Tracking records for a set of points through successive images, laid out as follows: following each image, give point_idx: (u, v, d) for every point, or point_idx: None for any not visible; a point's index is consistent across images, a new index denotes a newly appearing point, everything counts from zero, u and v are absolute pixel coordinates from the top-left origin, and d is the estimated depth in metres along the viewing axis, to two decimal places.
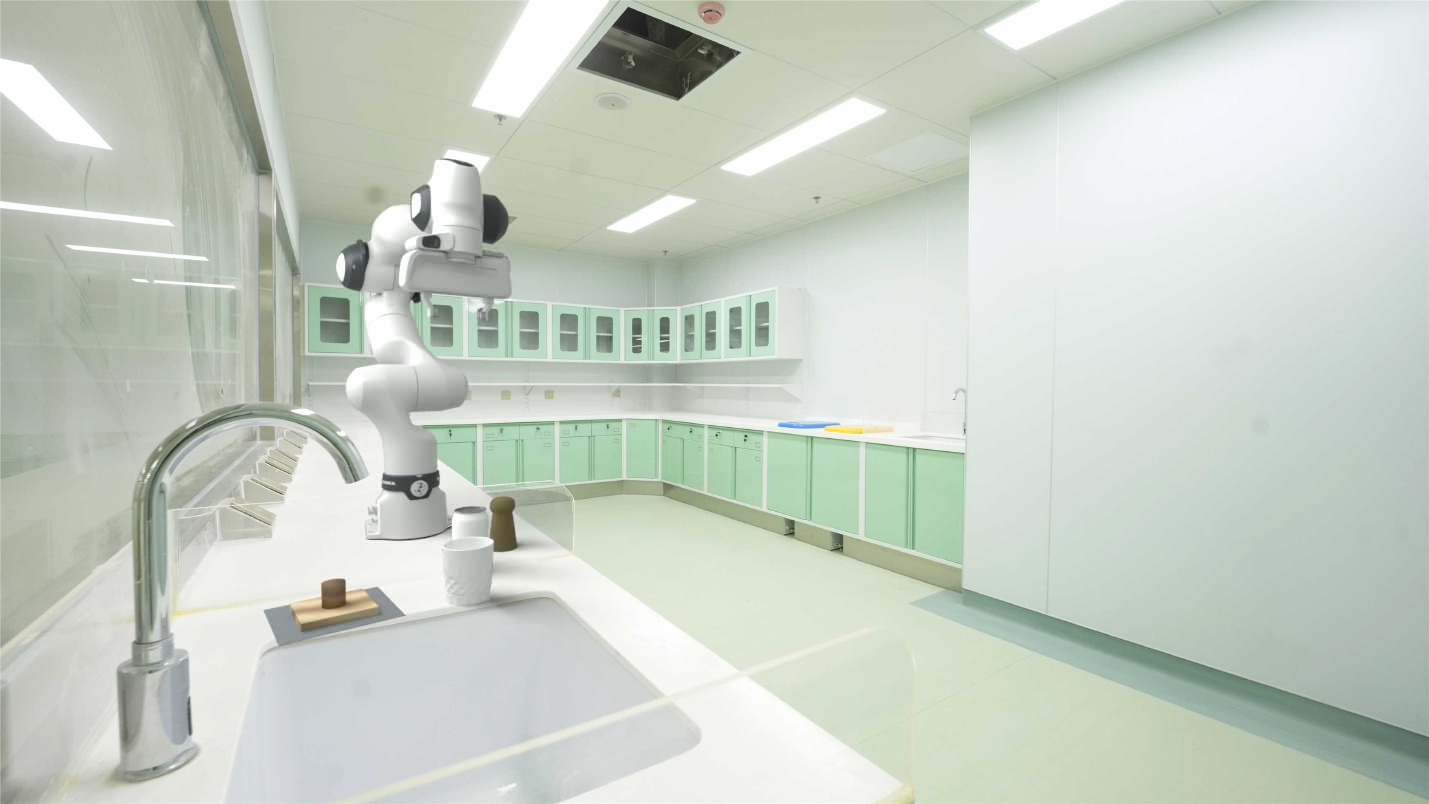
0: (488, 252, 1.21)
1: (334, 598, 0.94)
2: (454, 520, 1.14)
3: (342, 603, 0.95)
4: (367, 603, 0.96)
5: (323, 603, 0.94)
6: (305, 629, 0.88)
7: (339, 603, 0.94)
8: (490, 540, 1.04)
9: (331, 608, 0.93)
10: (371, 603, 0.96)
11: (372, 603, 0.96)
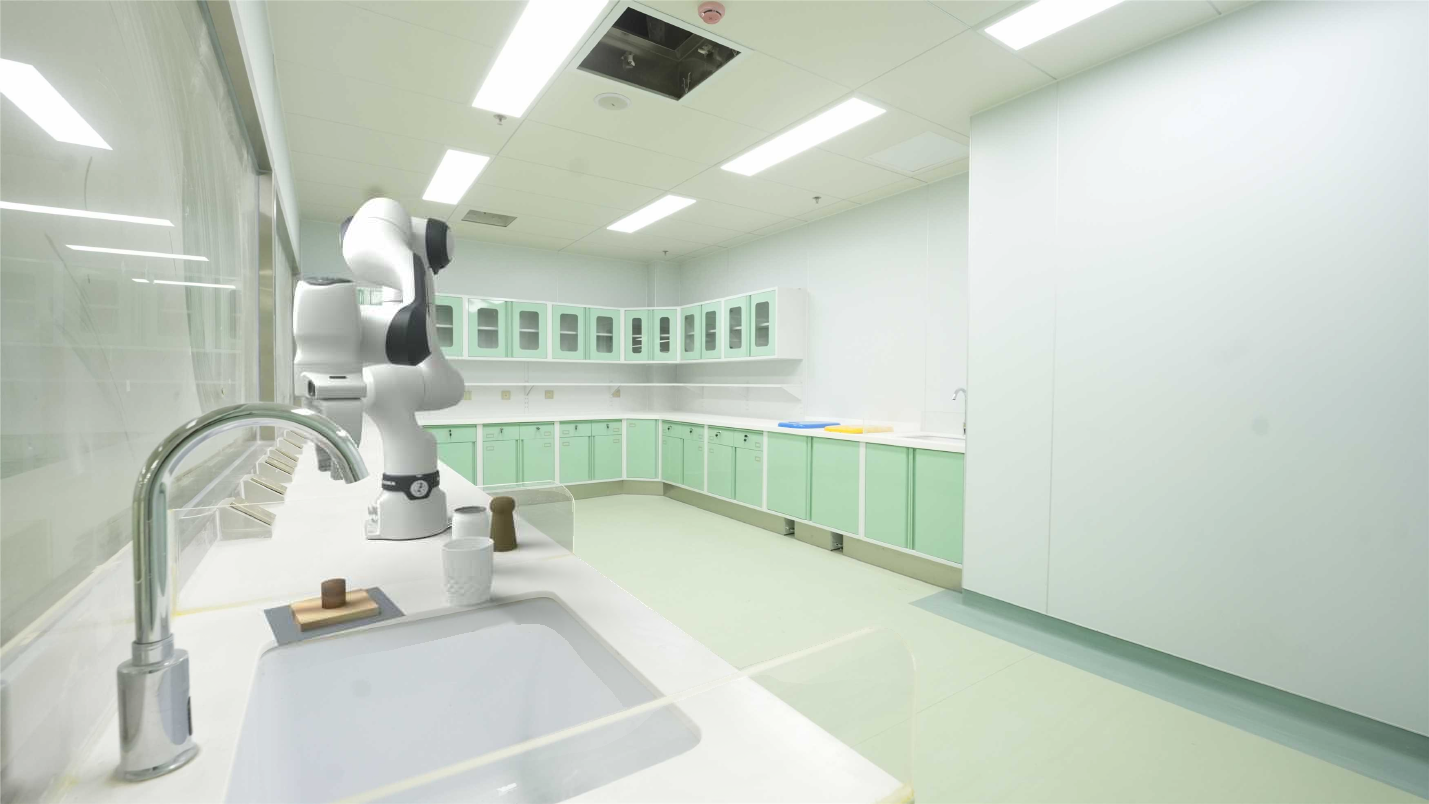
0: None
1: (334, 598, 0.94)
2: (454, 520, 1.14)
3: (342, 603, 0.95)
4: (367, 603, 0.96)
5: (323, 603, 0.94)
6: (305, 629, 0.88)
7: (339, 603, 0.94)
8: (490, 540, 1.04)
9: (331, 608, 0.93)
10: (371, 603, 0.96)
11: (372, 603, 0.96)
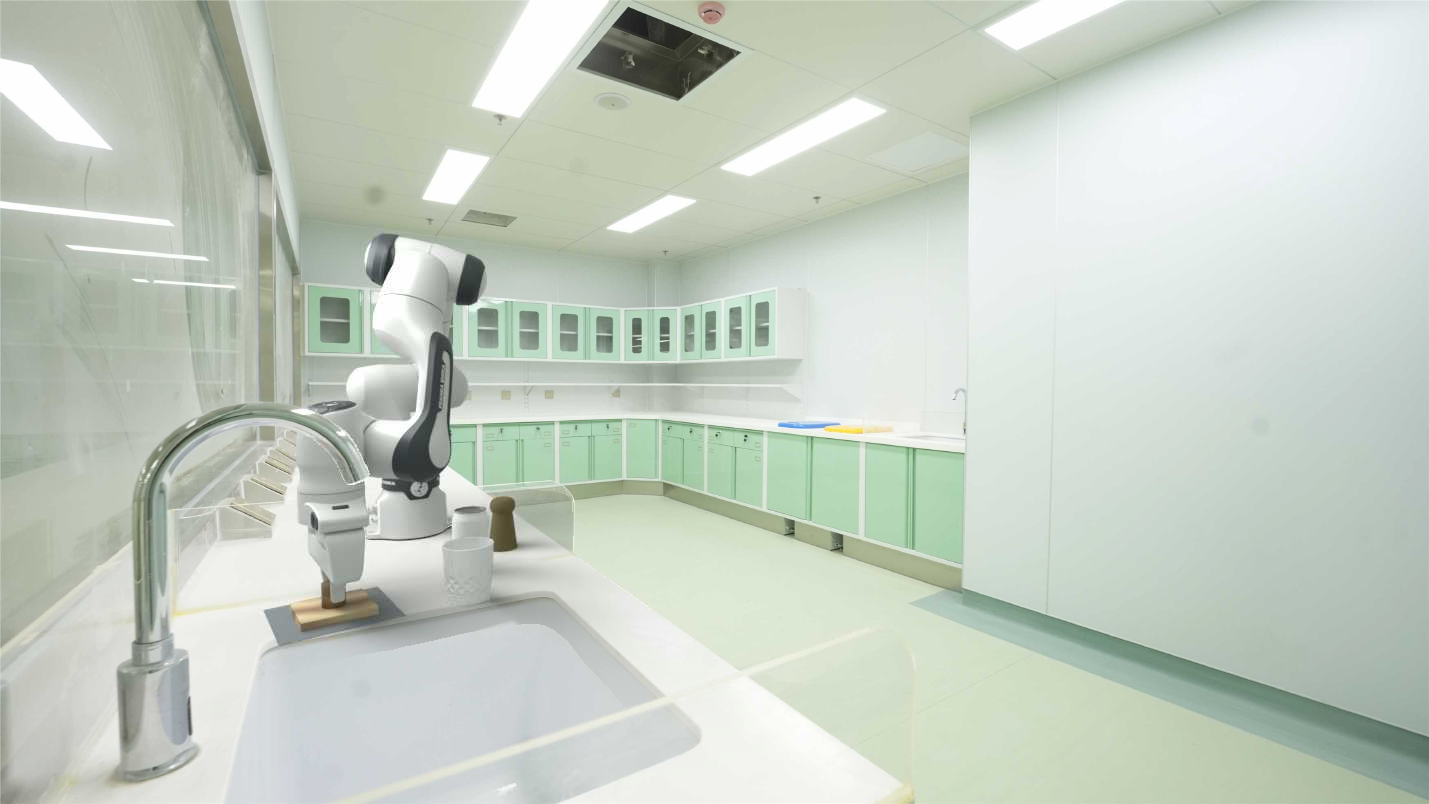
0: None
1: None
2: (454, 520, 1.14)
3: (342, 603, 0.95)
4: (367, 603, 0.96)
5: (323, 603, 0.94)
6: (305, 629, 0.88)
7: (339, 603, 0.94)
8: (490, 540, 1.04)
9: (331, 608, 0.93)
10: (371, 603, 0.96)
11: (372, 603, 0.96)
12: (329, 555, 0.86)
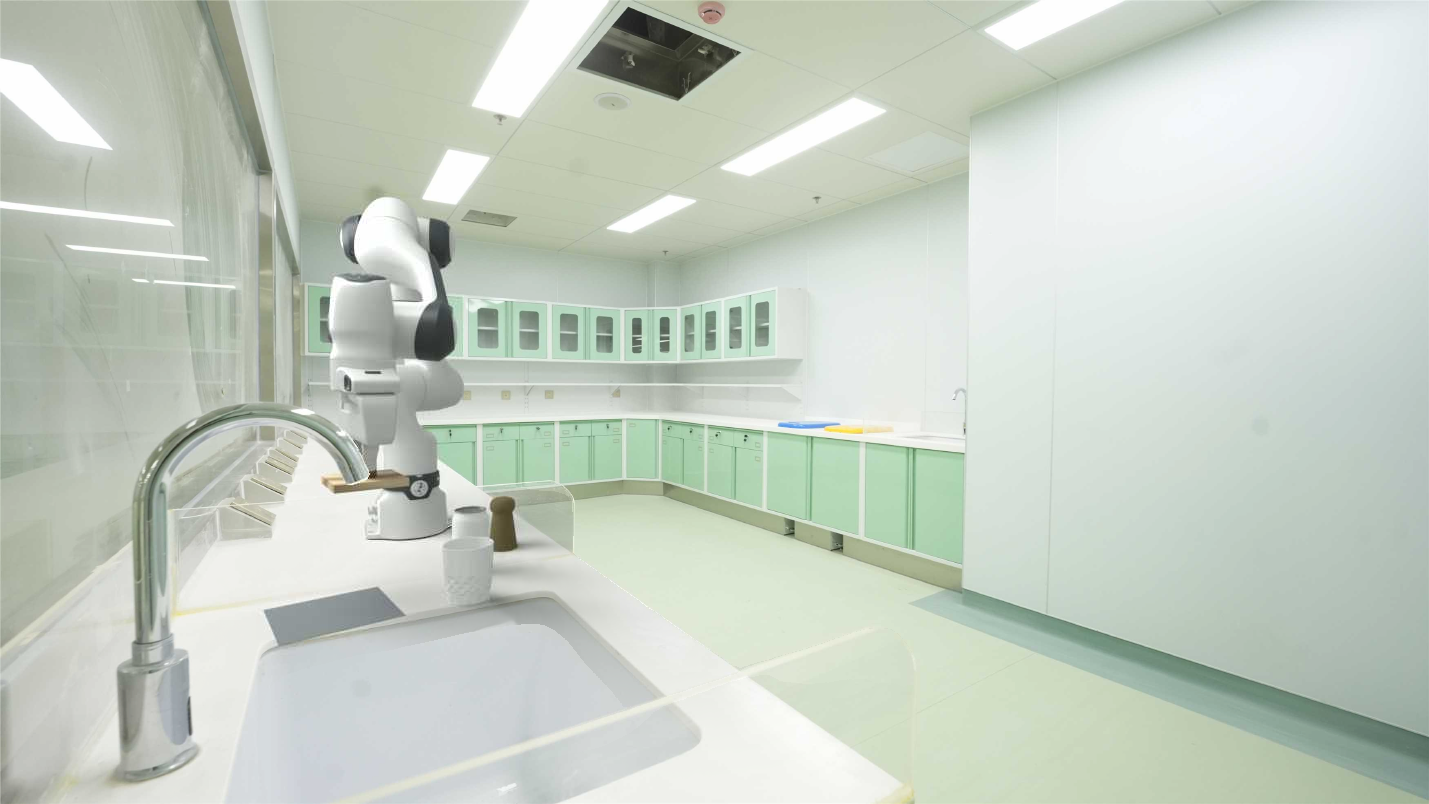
0: None
1: None
2: (454, 520, 1.14)
3: (373, 474, 0.95)
4: (398, 476, 0.96)
5: None
6: (338, 491, 0.89)
7: (370, 474, 0.95)
8: (490, 540, 1.04)
9: None
10: (402, 476, 0.96)
11: (402, 476, 0.96)
12: (362, 414, 0.86)
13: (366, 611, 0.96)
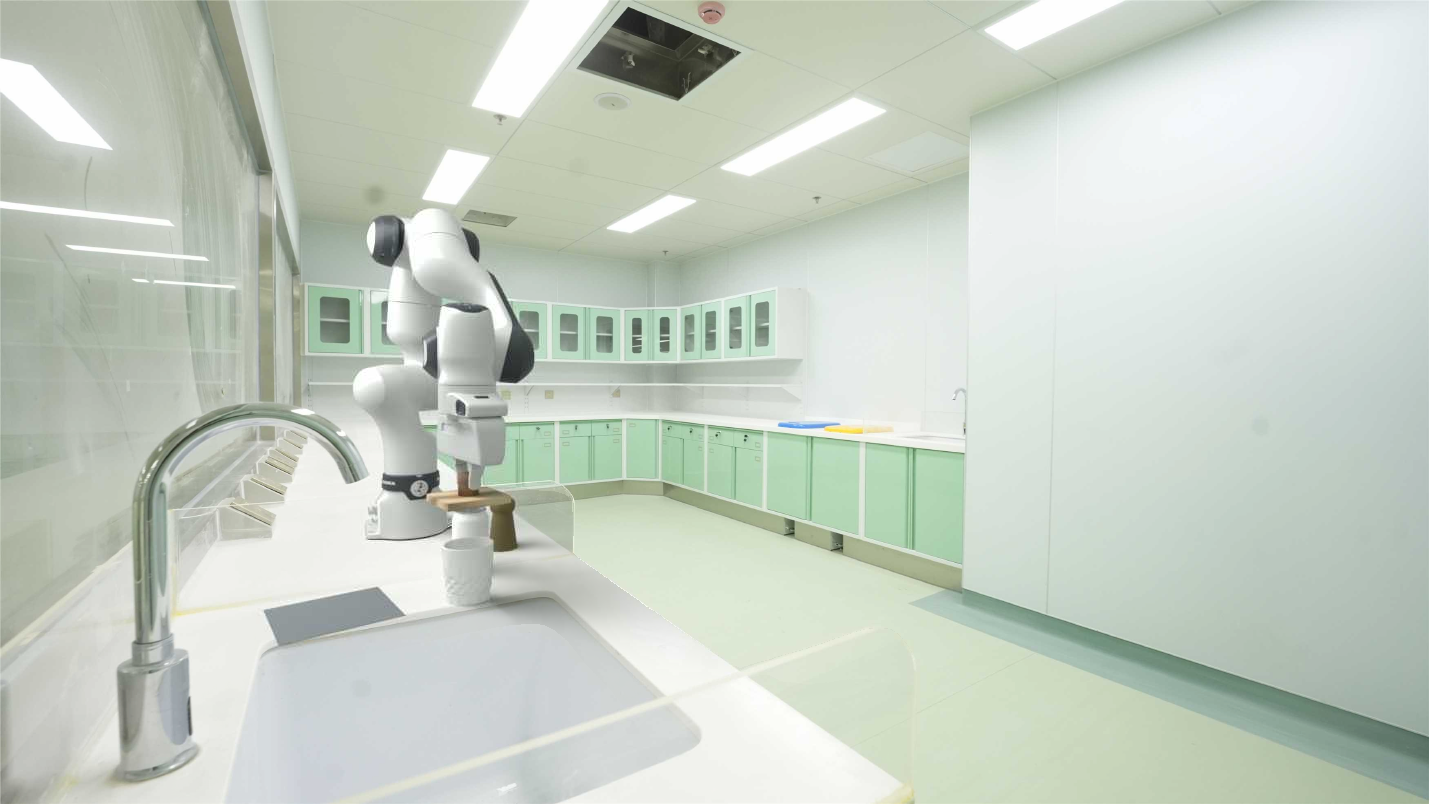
0: None
1: None
2: (454, 520, 1.14)
3: (477, 492, 1.01)
4: (499, 494, 1.02)
5: (460, 491, 1.00)
6: (451, 509, 0.94)
7: (474, 492, 1.00)
8: (490, 540, 1.04)
9: (468, 496, 0.99)
10: (503, 494, 1.02)
11: (503, 494, 1.02)
12: (477, 437, 0.92)
13: (366, 611, 0.96)
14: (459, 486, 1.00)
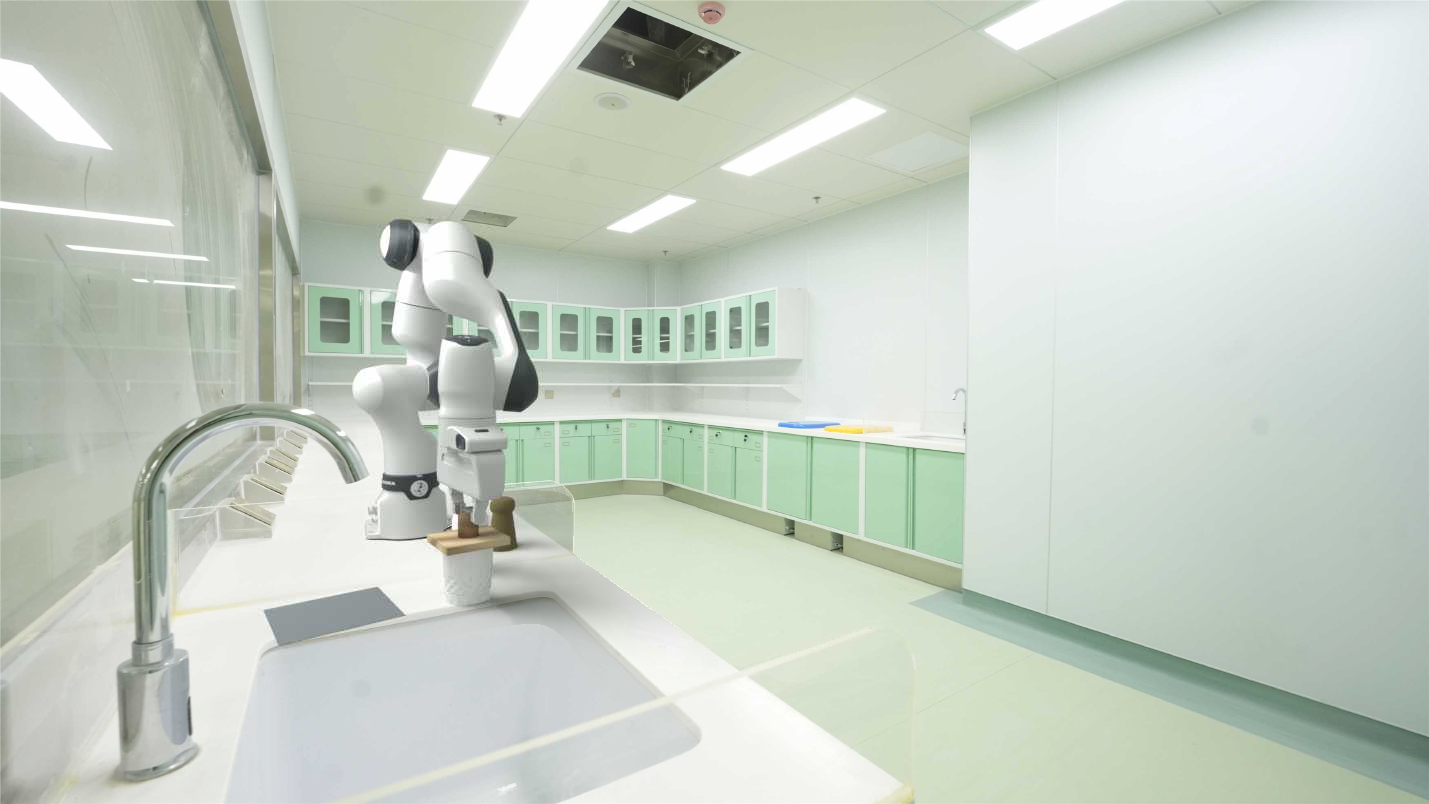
0: None
1: (470, 529, 1.00)
2: (454, 520, 1.14)
3: (476, 534, 1.01)
4: (499, 535, 1.02)
5: (460, 533, 1.00)
6: (450, 553, 0.95)
7: (474, 533, 1.01)
8: None
9: (468, 538, 1.00)
10: (502, 535, 1.02)
11: (503, 535, 1.02)
12: (477, 472, 0.92)
13: (366, 611, 0.96)
14: (459, 528, 1.00)
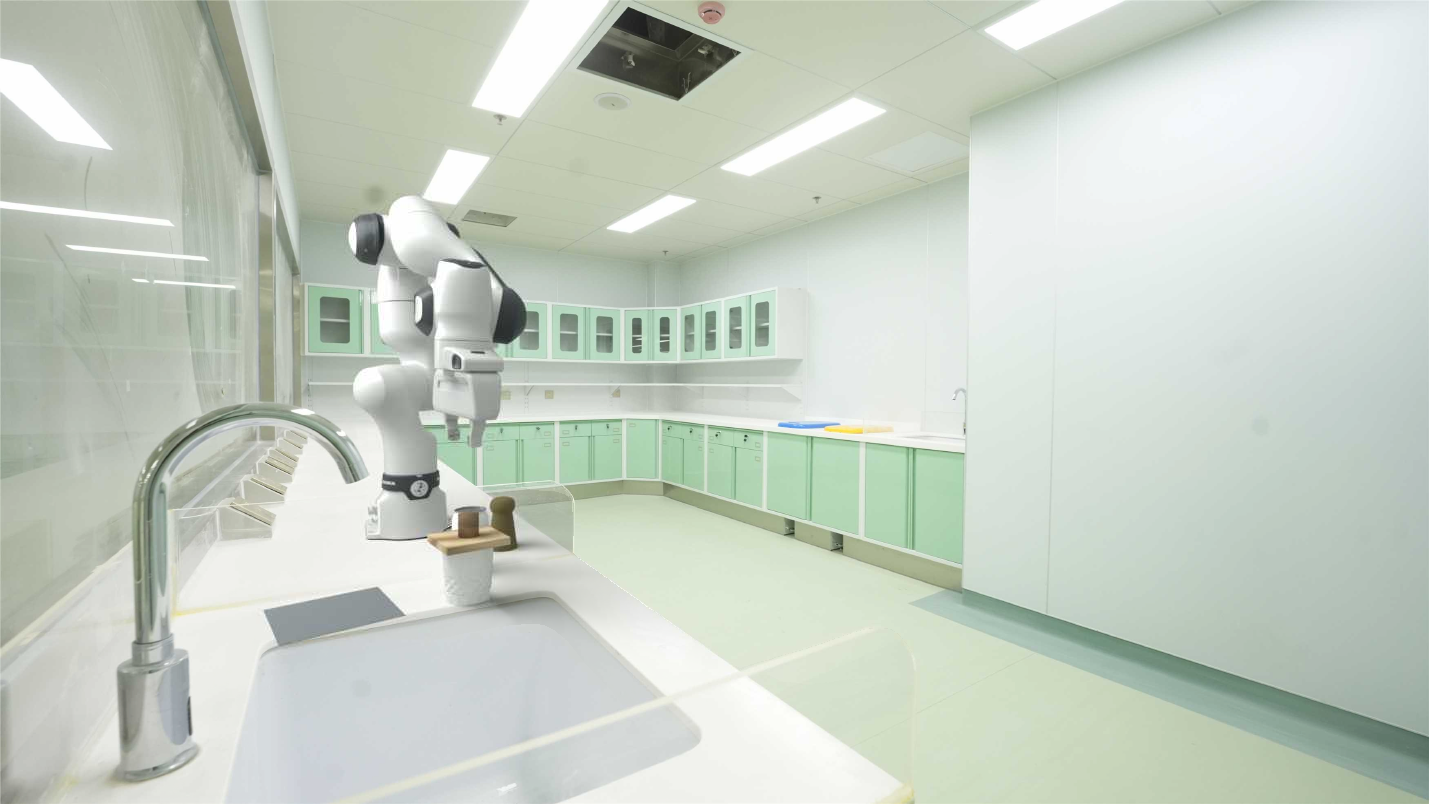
0: None
1: (471, 529, 1.00)
2: (454, 520, 1.14)
3: (476, 534, 1.01)
4: (499, 535, 1.02)
5: (460, 533, 1.00)
6: (450, 553, 0.95)
7: (474, 533, 1.01)
8: None
9: (468, 538, 1.00)
10: (502, 535, 1.02)
11: (503, 535, 1.02)
12: (472, 391, 0.92)
13: (366, 611, 0.96)
14: (459, 528, 1.00)
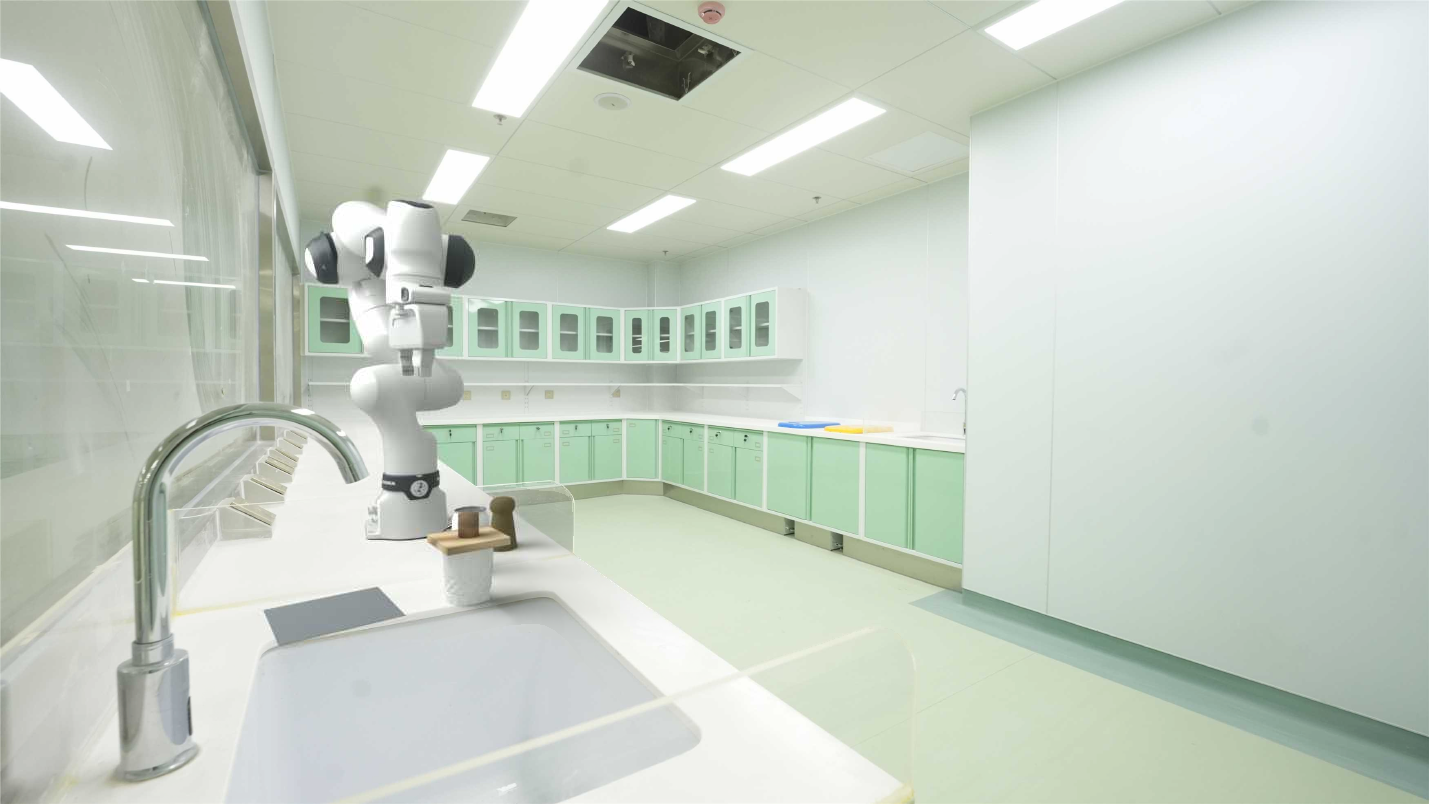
0: None
1: (471, 529, 1.00)
2: (454, 520, 1.14)
3: (476, 534, 1.01)
4: (499, 535, 1.02)
5: (460, 533, 1.00)
6: (450, 553, 0.95)
7: (474, 533, 1.01)
8: None
9: (468, 538, 1.00)
10: (502, 535, 1.02)
11: (503, 535, 1.02)
12: (419, 320, 0.98)
13: (366, 611, 0.96)
14: (459, 528, 1.00)
